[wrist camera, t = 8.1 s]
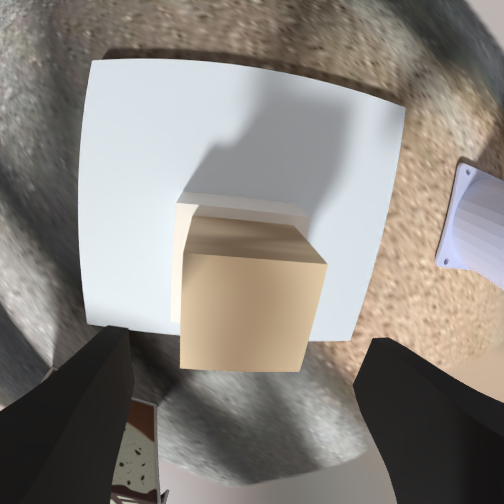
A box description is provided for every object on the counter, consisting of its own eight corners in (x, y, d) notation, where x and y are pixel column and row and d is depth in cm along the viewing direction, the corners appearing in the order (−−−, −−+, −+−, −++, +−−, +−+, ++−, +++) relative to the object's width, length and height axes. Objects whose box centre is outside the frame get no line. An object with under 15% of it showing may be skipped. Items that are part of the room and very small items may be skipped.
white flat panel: (397, 108, 16) (405, 107, 15) (344, 332, 21) (349, 340, 21) (98, 64, 13) (92, 60, 12) (91, 316, 19) (87, 324, 18)
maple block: (293, 225, 14) (328, 264, 10) (277, 311, 15) (299, 371, 11) (192, 215, 13) (183, 252, 9) (186, 306, 15) (180, 368, 10)
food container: (40, 401, 21) (7, 481, 12) (37, 359, 19) (-11, 448, 10) (159, 443, 24) (153, 532, 15) (174, 408, 22) (168, 514, 13)
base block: (294, 203, 17) (311, 217, 14) (276, 301, 19) (287, 328, 16) (182, 191, 16) (176, 202, 13) (176, 293, 18) (170, 322, 15)
